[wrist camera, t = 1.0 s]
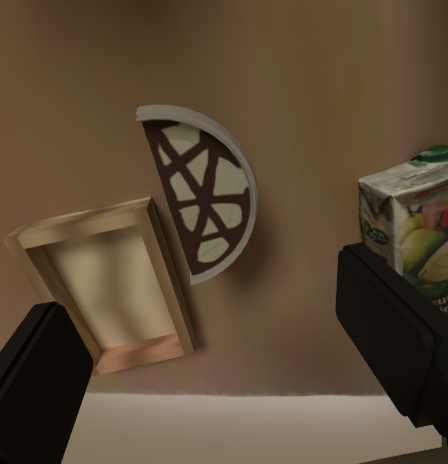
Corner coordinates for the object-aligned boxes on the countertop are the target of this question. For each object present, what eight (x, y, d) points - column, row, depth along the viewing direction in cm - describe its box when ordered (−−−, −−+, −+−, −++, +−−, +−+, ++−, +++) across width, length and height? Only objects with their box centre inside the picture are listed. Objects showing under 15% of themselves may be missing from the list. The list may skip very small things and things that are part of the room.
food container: (248, 216, 29) (275, 271, 20) (191, 230, 29) (192, 291, 20) (224, 85, 23) (247, 81, 14) (153, 102, 23) (131, 108, 14)
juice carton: (350, 171, 28) (390, 190, 23) (444, 137, 28) (507, 149, 23) (364, 309, 38) (394, 346, 32) (434, 285, 37) (477, 318, 32)
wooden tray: (151, 196, 27) (146, 209, 24) (194, 331, 35) (195, 353, 32) (23, 223, 27) (2, 240, 24) (97, 353, 35) (89, 376, 32)
